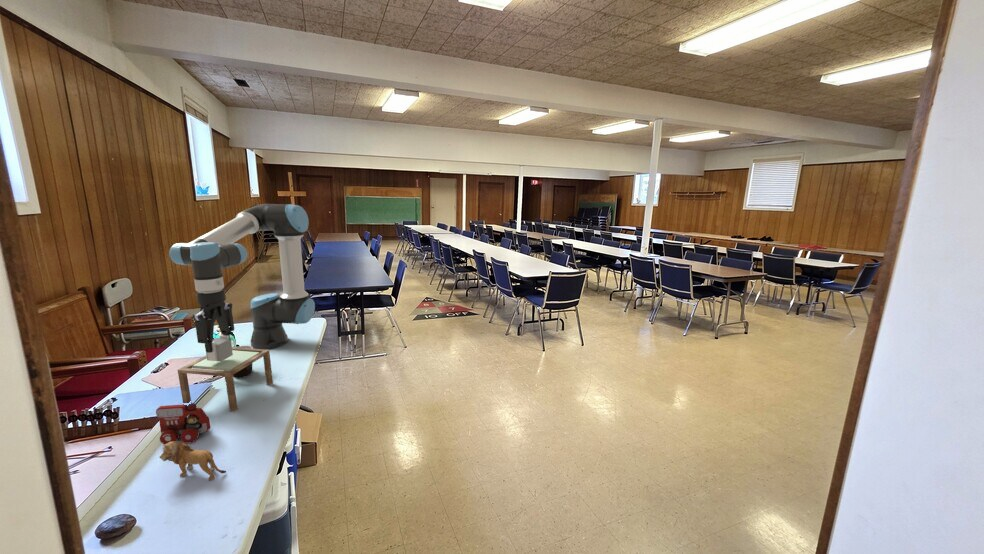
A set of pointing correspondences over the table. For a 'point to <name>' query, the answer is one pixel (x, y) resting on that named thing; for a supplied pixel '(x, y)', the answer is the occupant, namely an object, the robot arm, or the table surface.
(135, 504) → the table surface
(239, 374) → the coffee mug
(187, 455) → the lion figurine
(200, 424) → the toy fire truck
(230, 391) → the frame
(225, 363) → the hatch
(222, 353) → the cube
